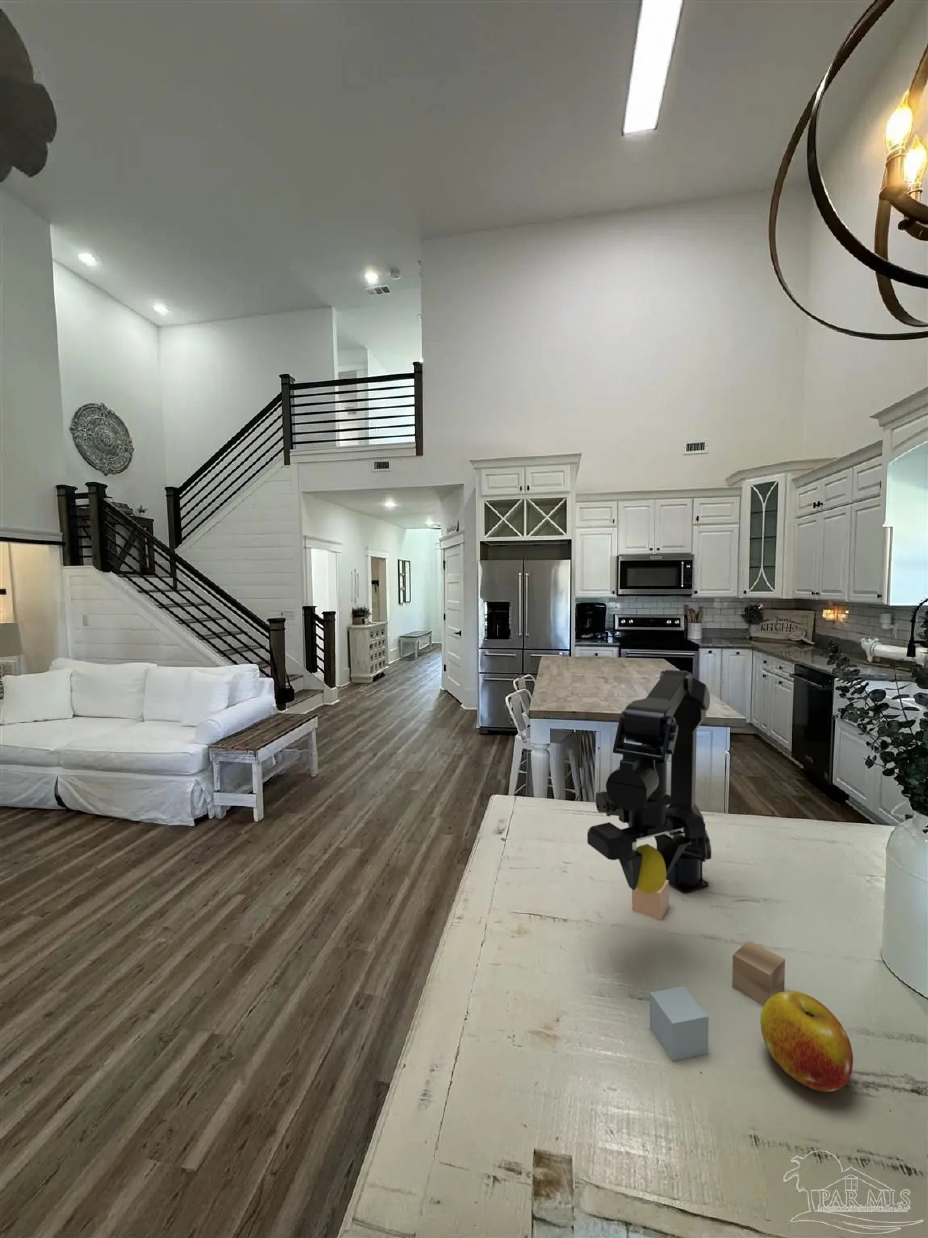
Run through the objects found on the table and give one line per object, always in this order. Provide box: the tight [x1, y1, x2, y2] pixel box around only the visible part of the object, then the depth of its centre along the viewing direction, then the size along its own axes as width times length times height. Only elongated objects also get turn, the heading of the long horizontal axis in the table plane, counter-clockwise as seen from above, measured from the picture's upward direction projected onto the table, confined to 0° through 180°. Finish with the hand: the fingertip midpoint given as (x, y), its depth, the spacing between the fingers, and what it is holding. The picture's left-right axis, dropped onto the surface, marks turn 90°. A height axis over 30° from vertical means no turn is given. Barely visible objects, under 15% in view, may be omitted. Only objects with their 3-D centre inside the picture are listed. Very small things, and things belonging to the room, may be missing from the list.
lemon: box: [636, 843, 666, 895], centre depth 80 cm, size 6×6×8 cm
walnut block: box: [731, 939, 786, 1007], centre depth 74 cm, size 5×5×5 cm
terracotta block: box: [631, 880, 670, 921], centre depth 93 cm, size 5×5×5 cm
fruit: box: [759, 990, 854, 1093], centre depth 61 cm, size 10×9×8 cm
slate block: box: [649, 985, 709, 1062], centre depth 66 cm, size 5×5×5 cm
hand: (647, 884), depth 80 cm, fingers closed on lemon, 5 cm apart
